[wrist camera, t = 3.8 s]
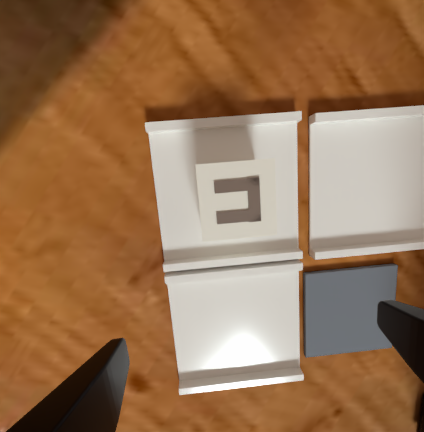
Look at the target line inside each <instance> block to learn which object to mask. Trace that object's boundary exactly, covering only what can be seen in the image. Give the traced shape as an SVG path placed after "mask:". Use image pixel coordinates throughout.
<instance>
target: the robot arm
mask: <svg viewBox="0 0 424 432" xmlns="http://www.w3.org/2000/svg"><path fill="white" fill-rule="evenodd" d="M377 324H378V327H379V329H380V330H381V331H382V333H383V334H384V335H385V336H386V338H387V339H388V340H389V341H390V343H391V344H392V345H393V346H394V348H395V349H396V350H397V352H398V353H399V354H400V355H401V357H402V358H403V359H404V360H405V362H406V363H407V364H408V366H409V367H410V368H411V369H412V370H413V372H414V373H415V374H416V375H417V376H418V377H419V378H420V380H421V381H422V382H423V383H424V309H421V308H417V307H414V306H411V305H408V304H404V303H401V302H398V301H394V300H384V301H380V302H379V303H378V305H377ZM128 369H129V355H128V350H127V345H126V341H125V339H124V338H118V339H112V340H110V341H109V342H108V343H107V344H106V345H105V346H103V347H102V348H101V349H100V350H99V351H98V352H97V353H95V354H94V355H93V356H92V357H91V358H90V359H89V360H87V361H86V362H85V363H84V364H83V365H82V366H81V367H79V368H78V369H77V370H76V371H75V372H74V373H73V374H71V375H70V376H69V377H68V378H67V379H66V380H65V381H63V382H62V383H61V384H60V385H59V386H58V387H57V388H55V389H54V390H53V391H52V392H51V393H50V394H49V395H47V396H46V397H45V398H44V399H43V400H42V401H41V402H39V403H38V404H37V405H36V406H35V407H34V408H32V409H31V410H30V411H29V412H28V413H27V414H26V415H24V416H23V417H22V418H21V419H20V420H19V421H18V422H16V423H15V424H14V425H13V426H12V427H11V428H10V429H8V430H7V431H6V432H115V431H116V427H117V423H118V420H119V415H120V410H121V405H122V400H123V395H124V390H125V385H126V379H127V374H128ZM419 432H424V396H423V400H422V410H421V419H420V428H419Z"/></svg>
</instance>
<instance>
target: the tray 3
mask: <svg viewBox="0 0 424 432" xmlns="http://www.w3.org/2000/svg"><path fill="white" fill-rule="evenodd" d="M419 249H424V105H420V106H407V107H393V108H379V109H365V110H352V111H338V112H324V113H315V114H313V115H311V116H309V256H311V257H312V258H313V259H315V260H317V259H327V258H337V257H347V256H358V255H368V254H378V253H388V252H398V251H408V250H419Z"/></svg>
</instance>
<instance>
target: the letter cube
mask: <svg viewBox="0 0 424 432" xmlns="http://www.w3.org/2000/svg"><path fill="white" fill-rule="evenodd" d="M195 166H196V177H197V187H198V198H199V209H200V220H201V231H202V242H207V241H218V240H229V239H239V238H250V237H261V236H271V235H277V214H276V179H275V158H270V159H258V160H245V161H233V162H220V163H208V164H195Z"/></svg>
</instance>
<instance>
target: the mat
mask: <svg viewBox="0 0 424 432" xmlns="http://www.w3.org/2000/svg"><path fill="white" fill-rule="evenodd" d="M397 269H398V265H396V264H394V263H393V264H383V265H374V266H364V267H354V268H344V269H334V270H324V271H314V272H304V273H303V291H304V355H305V357H315V356H324V355H332V354H341V353H350V352H358V351H367V350H375V349H384V348H392V344H391V343H390V341H389V340H388V339H387V338H386V336H385V335H384V334H383V333H382V331H381V330H380V329H379V327H378V324H377V305H378V303H379V302H380V301H384V300H394V301H395V296H396V283H397Z"/></svg>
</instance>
